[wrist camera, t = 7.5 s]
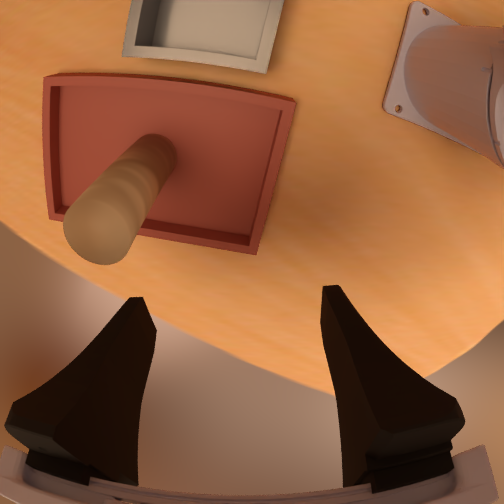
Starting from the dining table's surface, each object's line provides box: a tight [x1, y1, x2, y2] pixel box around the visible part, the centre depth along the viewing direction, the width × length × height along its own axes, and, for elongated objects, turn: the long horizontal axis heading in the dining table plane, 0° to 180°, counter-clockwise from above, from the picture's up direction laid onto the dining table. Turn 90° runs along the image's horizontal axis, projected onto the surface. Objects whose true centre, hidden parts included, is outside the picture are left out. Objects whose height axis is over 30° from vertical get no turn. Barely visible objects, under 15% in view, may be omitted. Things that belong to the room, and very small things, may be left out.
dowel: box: [63, 134, 177, 265], centre depth 15 cm, size 3×3×9 cm
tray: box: [42, 73, 296, 255], centre depth 19 cm, size 15×10×2 cm
